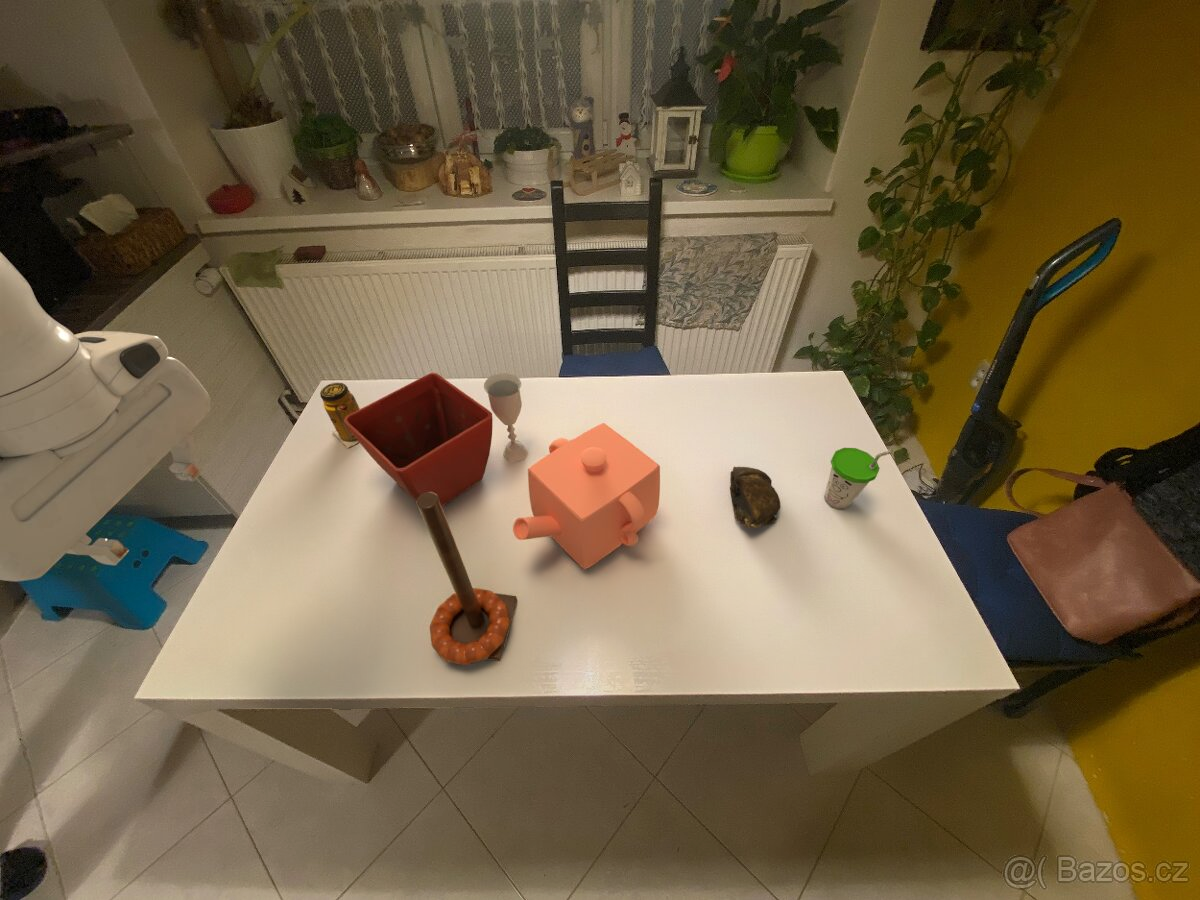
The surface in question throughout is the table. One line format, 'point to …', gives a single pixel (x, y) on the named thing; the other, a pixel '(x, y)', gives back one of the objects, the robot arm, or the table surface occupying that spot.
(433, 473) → the flower pot
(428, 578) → the table surface
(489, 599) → the ring
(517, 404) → the chalice
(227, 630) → the table surface
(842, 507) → the cup
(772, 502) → the dark brown irregular lump
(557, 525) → the teapot
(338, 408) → the condiment
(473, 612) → the stand
